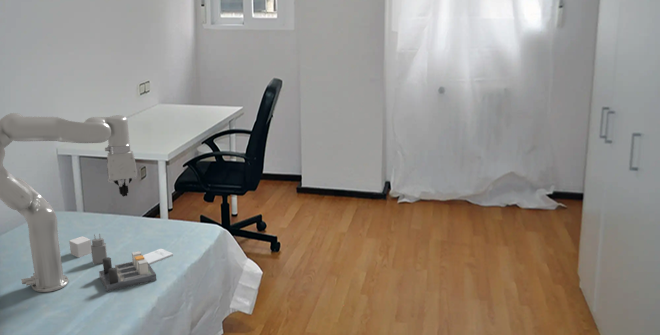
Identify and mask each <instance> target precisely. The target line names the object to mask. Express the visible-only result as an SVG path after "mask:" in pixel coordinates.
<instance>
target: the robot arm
mask: <svg viewBox="0 0 660 335" xmlns="http://www.w3.org/2000/svg"><path fill="white" fill-rule="evenodd" d="M106 141H107V142H108V143H107V144H108V145H107V147H104V151H105V152H107V156H106V169H107V170H106V171H107V172H106V173H107V182H108V183H109V184H115V185H117V186H118V189H119V190H118V191H119V194H120V195H121V196H122V197H128V194H129V185H130V183H131V182H132V181H134V180H137V179H138V170H137V164H136V159H135V154H134V151H133V150H131V143H130V133H129V123H128V118H127V116H125V115H120V114H119V115H110V116H91V117H89V118H87V119H85V121H72V120H69V119H65V118H62V117H58V116H24V115H23V114H20V113H18V112H10V113H9V114H6V115H4V116H3V117H2V118H0V200H1V201H2V202H3V203H4V204H5V206H7V207H8V208H9V209H10V210H11V209H12V210H14V211H17V212H18V213H19V214H20V215H21V216H23V218H24V219H25V221H26V223H27V228H28V238H29V246H30V251H31V258H32V264H33V271H34V273H33V274H32V276H30V277H25V278H21V284H22V285H26V286H31V289H32V290H33V291H35V292H38V293H49V292H55V291H58V290H61V289H62V288H65V287H66V286H67V285H68V284H69V277H68V276H66V275H65V274H64V270H63V263H62V256H61V249H60V240H59V233H58V232H59V231H58V216H57V213H56V212H55V210H54V208H53V207H52V205H51V204H50V202H49V201H47V200H46V198H45V197H43V195H41V194H40V193H39V192H38V191H37V190H35V188H33V186H31V185H30V184H29V183H27V182H26V181H25V180H24V179H22V178H19V177H15V176H14V175H13V174H12V173H11V172H10V171H8V169H6V168H5V166H4V163H3V162H4V159H5V156H6V155H5V154H6V151H5V148H6V147H8V146H9V145H10V144H11V143H12V142H60V143H71V144H101V143H105V142H106ZM122 180H123V182H122Z"/></svg>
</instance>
